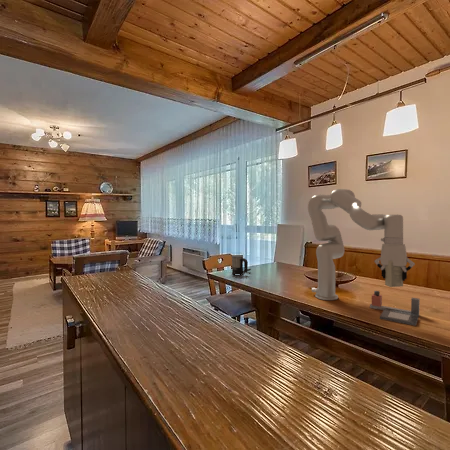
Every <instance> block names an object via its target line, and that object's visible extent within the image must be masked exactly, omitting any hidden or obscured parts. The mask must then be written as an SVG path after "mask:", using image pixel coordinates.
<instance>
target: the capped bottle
mask: <svg viewBox="0 0 450 450" xmlns="http://www.w3.org/2000/svg"><path fill="white" fill-rule="evenodd" d="M373 292H374V293H373V294H372V295H371V304H372V305H373V306H379V307H381V306H383V295H382V294H381V292H380V290H374V291H373Z"/></svg>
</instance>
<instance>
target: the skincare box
mask: <svg viewBox="0 0 450 450" xmlns="http://www.w3.org/2000/svg"><path fill="white" fill-rule="evenodd" d="M402 272H403V269H402V268H401V267H398V266H393V261H388V266H385V279H384V285H385V286H387V287H389V288H399V287H404V281H403V280H402Z"/></svg>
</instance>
